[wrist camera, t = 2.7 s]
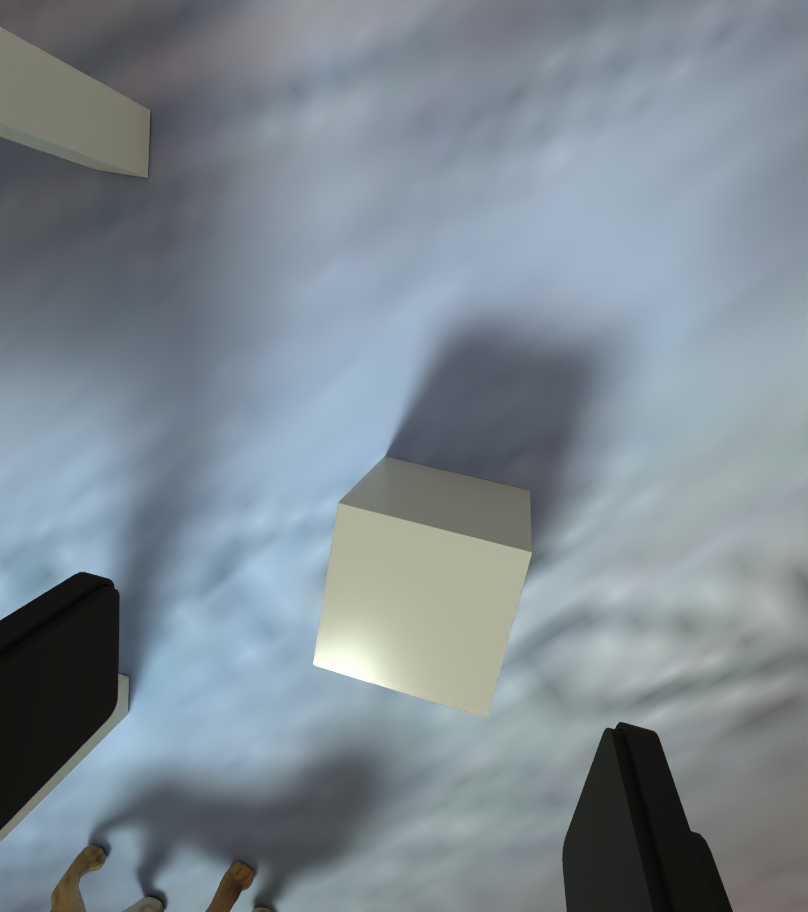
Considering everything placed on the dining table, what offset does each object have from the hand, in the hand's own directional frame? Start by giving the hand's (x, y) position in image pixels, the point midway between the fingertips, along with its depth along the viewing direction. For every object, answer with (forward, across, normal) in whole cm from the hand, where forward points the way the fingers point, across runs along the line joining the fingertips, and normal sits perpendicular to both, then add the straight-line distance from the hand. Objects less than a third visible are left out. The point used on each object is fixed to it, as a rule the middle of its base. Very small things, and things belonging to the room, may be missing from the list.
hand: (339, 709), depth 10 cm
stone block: (+9, -1, +1) cm, 9 cm away
